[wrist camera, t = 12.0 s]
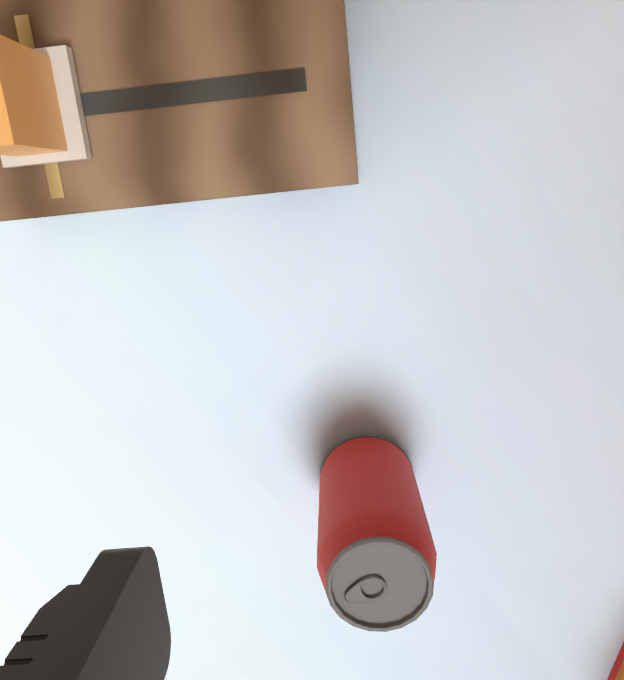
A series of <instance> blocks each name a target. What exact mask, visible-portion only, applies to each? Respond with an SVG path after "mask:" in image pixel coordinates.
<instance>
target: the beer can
mask: <svg viewBox="0 0 624 680" xmlns="http://www.w3.org/2000/svg"><path fill="white" fill-rule="evenodd" d="M436 555H437V553H436V550H435V546H434V543H433V539H432V536H431V532H430V529H429V525H428V522H427V518H426V515H425V511H424V508H423V504H422V501H421V497H420V494H419V490H418V487H417V483H416V480H415V476H414V473H413V469H412V466H411V463H410V461H409V460H408V458H407V457H406V455H405V454H404V453H403V451H402V450H400V449H399V448H398V447H396V446H395V445H393V444H392V443H391V442H388V441H385V440H382V439H379V438H372V437H360V438H356V439H353V440H349V441H346V442H345V443H343V444H341V445H340V446H338V447H337V448H335V449H334V450H333V451H332V452H331V453H330V455H329V456H328V457H327V458H326V460H325V462H324V464H323V467H322V470H321V472H320V493H319V518H318V544H317V568H318V572H319V575H320V578H321V580H322V583H323V586H324V589H325V591H326V594H327V597H328V600H329V602H330V605H331V607H332V608H333V609H334V610H335V612H336V613H337V614H338V615H339V617H340V618H342V619H343V620H345V621H346V622H348V623H349V624H351V625H352V626H354V627H358V628H361V629H364V630H367V631H383V632H386V631H390V630H395V629H399V628H402V627H404V626H406V625H408V624H409V623H411V622H413V621H415V620H416V619H417V618H418V617H419V616H420V615H421V614H422V613H423V612H424V611H425V610H426V609H427V607H428V605H429V602H430V600H431V598H432V596H433V586H434V579H435V569H436Z"/></svg>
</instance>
